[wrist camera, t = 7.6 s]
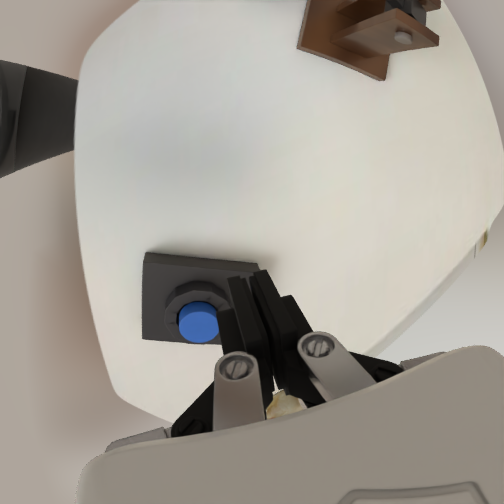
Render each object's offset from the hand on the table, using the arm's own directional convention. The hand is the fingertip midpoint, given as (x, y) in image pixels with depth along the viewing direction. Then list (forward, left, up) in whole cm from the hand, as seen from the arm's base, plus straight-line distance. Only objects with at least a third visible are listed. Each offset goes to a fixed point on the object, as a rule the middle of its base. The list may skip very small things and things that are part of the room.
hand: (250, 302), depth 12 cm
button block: (0, -12, -18) cm, 21 cm away
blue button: (0, -12, -14) cm, 18 cm away
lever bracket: (+10, +20, -18) cm, 29 cm away
